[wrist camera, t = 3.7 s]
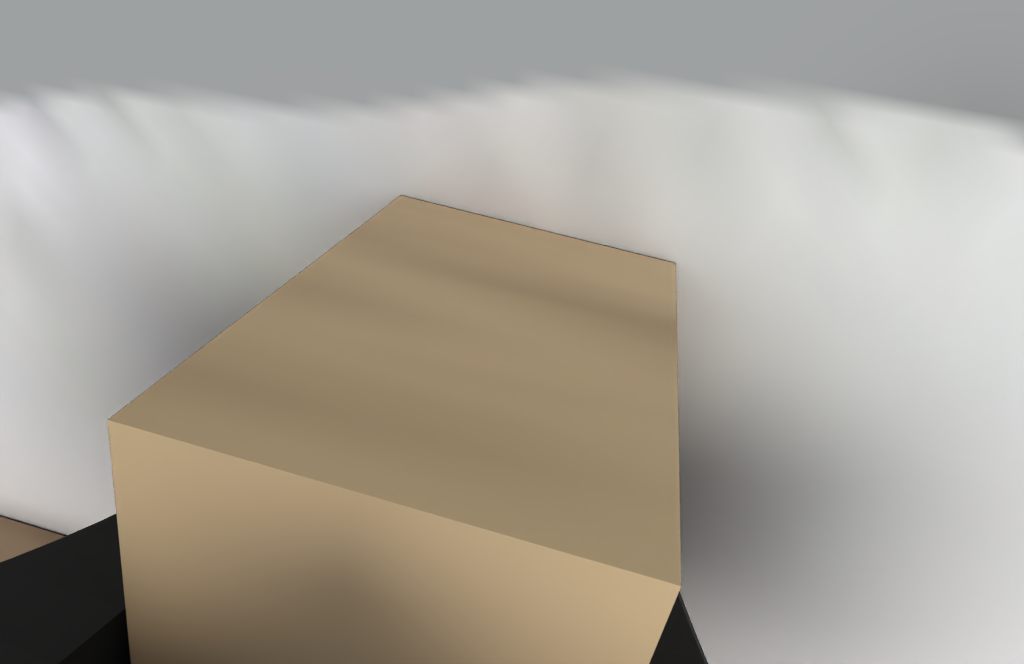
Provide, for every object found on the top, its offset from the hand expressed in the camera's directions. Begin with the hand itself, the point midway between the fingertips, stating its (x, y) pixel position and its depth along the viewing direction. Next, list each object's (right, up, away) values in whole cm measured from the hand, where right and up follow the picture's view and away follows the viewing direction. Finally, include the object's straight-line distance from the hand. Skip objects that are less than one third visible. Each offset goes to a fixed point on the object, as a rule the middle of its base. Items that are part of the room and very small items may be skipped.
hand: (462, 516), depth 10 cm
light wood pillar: (0, -1, +3) cm, 3 cm away
